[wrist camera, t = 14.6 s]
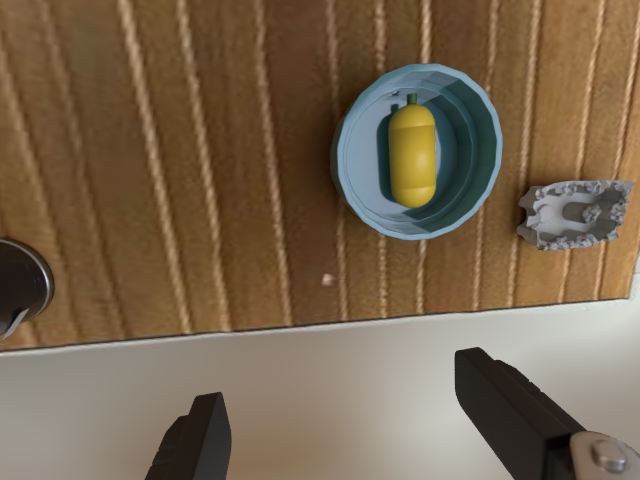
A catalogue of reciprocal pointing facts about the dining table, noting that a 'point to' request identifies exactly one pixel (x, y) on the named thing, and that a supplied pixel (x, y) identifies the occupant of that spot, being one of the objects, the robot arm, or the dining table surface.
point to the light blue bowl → (450, 141)
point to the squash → (412, 154)
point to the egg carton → (573, 213)
